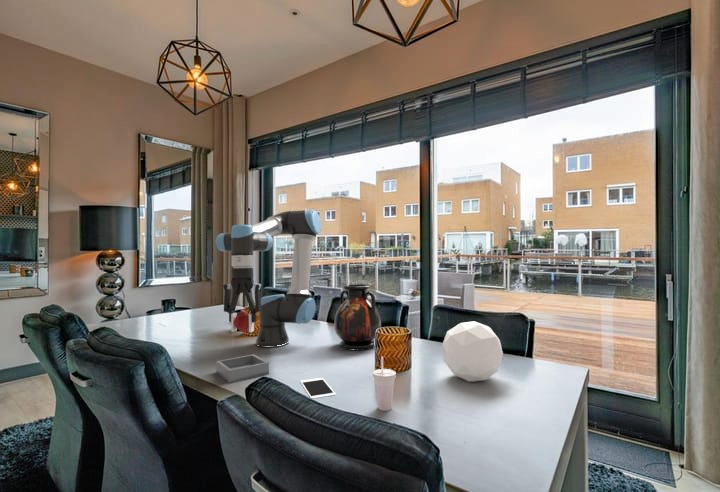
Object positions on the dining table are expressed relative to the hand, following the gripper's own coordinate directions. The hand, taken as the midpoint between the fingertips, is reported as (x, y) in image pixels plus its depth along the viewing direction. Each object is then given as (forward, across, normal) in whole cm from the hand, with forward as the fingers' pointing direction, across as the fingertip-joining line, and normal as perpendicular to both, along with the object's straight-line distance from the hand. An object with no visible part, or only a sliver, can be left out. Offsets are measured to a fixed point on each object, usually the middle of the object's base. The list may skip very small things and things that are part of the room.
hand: (242, 331), depth 131 cm
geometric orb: (+15, +80, +1) cm, 82 cm away
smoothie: (+15, +52, -25) cm, 60 cm away
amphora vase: (+15, +37, +40) cm, 57 cm away
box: (+15, 0, 0) cm, 15 cm away
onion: (0, 0, 0) cm, 0 cm away
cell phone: (+16, +30, -12) cm, 36 cm away
